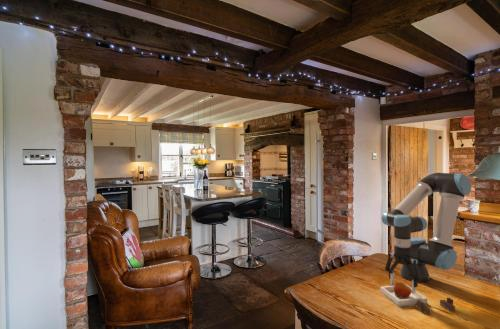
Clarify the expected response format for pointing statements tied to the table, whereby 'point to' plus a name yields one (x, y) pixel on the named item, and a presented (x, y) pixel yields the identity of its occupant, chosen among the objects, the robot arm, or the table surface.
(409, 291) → the fruit
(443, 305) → the block
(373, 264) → the table surface
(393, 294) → the dish
